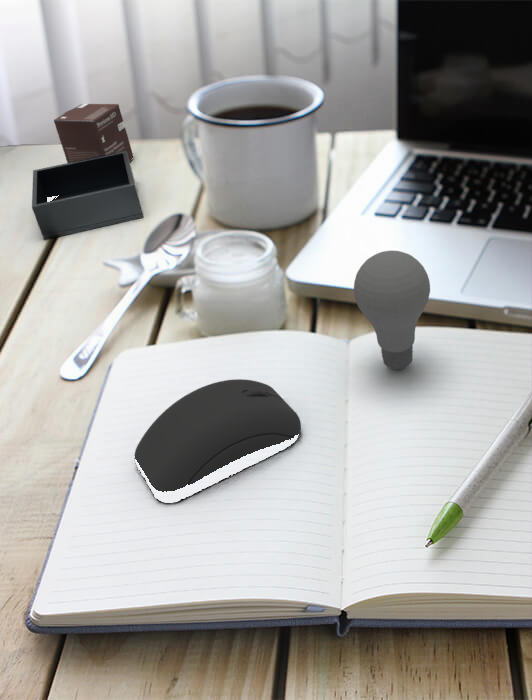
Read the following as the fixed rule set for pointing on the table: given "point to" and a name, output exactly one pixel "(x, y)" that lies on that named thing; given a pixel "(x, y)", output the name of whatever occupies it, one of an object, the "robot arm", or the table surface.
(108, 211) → the dark grey open tray
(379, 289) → the light bulb
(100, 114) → the box
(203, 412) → the computer mouse
